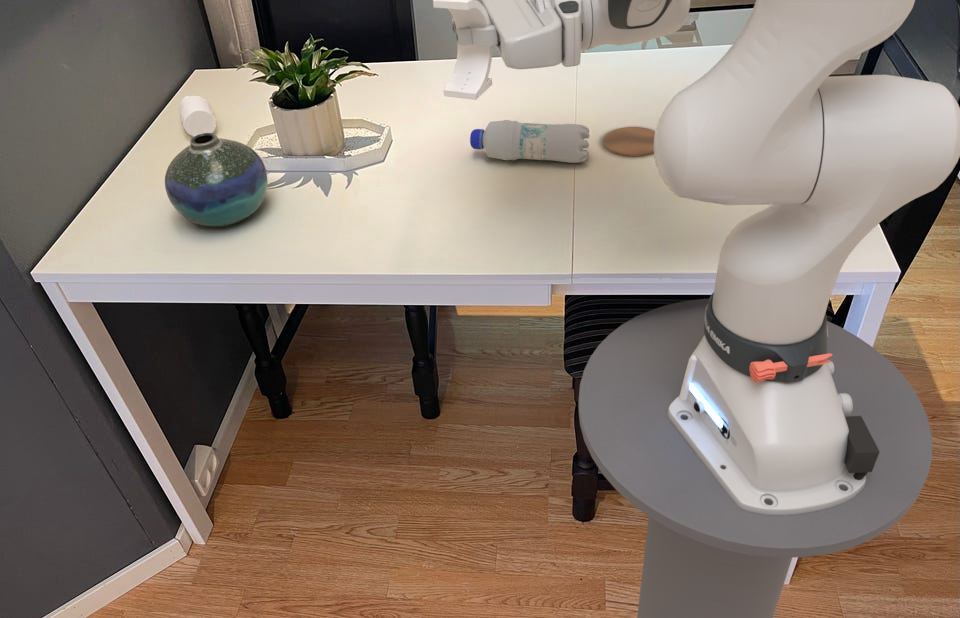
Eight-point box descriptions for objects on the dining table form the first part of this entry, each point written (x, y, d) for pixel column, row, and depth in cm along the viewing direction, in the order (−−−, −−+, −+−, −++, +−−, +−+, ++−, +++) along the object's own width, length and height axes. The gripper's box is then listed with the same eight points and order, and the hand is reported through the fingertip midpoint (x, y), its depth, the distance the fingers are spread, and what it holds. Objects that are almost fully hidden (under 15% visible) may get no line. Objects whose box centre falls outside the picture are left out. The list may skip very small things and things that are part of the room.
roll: (211, 109, 158) (202, 83, 155) (220, 133, 150) (211, 106, 146) (180, 116, 157) (171, 89, 153) (187, 141, 148) (178, 113, 144)
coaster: (671, 151, 133) (671, 149, 132) (613, 160, 132) (613, 158, 132) (651, 125, 140) (651, 123, 140) (596, 133, 140) (596, 131, 139)
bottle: (586, 173, 131) (468, 166, 134) (589, 146, 135) (475, 141, 139) (586, 141, 126) (464, 135, 129) (590, 114, 130) (471, 109, 133)
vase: (294, 196, 130) (275, 122, 121) (236, 248, 119) (211, 170, 111) (219, 182, 135) (196, 110, 127) (158, 230, 124) (128, 155, 116)
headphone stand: (443, 96, 101) (432, 0, 94) (464, 78, 105) (455, -16, 98) (476, 100, 99) (467, 2, 92) (495, 81, 103) (489, -14, 96)
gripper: (541, -32, 107) (441, -19, 106) (582, 19, 91) (465, 35, 90) (542, 15, 111) (446, 28, 110) (581, 71, 95) (469, 87, 94)
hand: (454, 31), depth 100 cm, fingers closed on headphone stand, 2 cm apart
